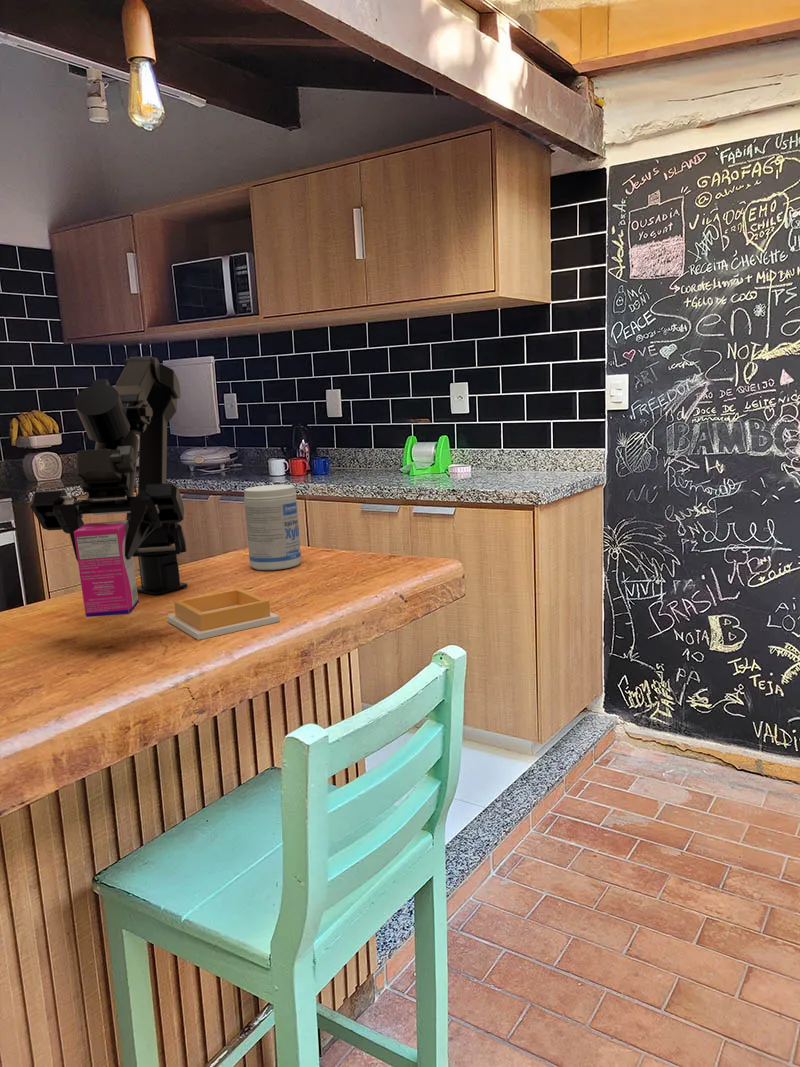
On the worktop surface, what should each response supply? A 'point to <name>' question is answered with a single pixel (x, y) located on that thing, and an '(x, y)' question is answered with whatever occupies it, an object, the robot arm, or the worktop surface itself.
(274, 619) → the collar socket
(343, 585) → the worktop surface
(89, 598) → the supplement box
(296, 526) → the supplement tub
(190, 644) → the worktop surface
